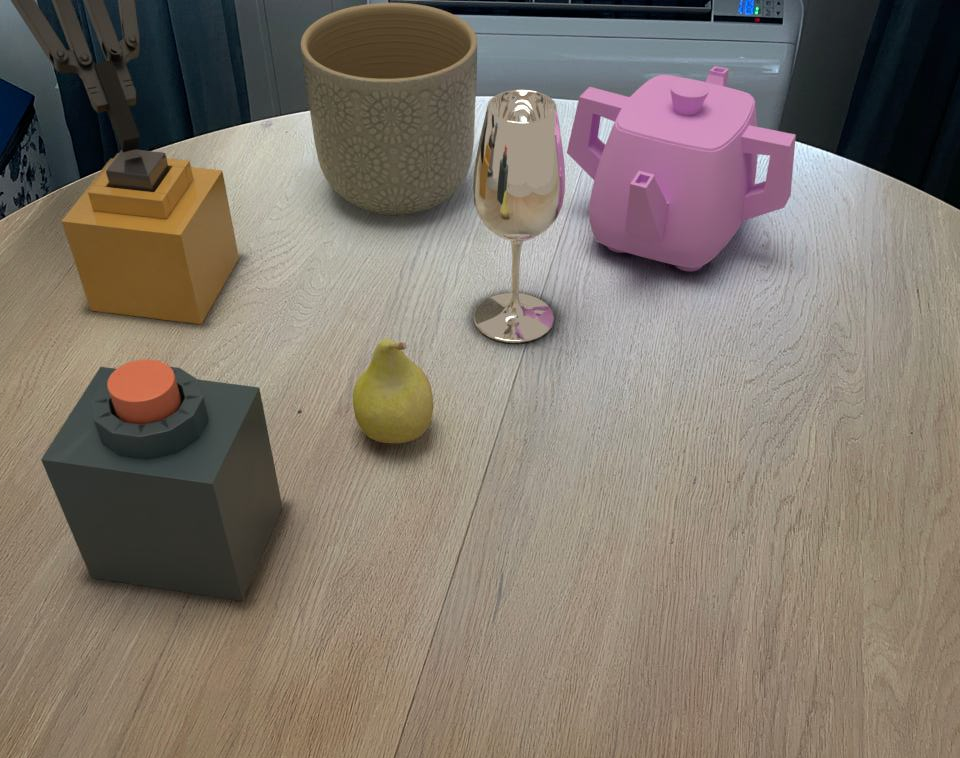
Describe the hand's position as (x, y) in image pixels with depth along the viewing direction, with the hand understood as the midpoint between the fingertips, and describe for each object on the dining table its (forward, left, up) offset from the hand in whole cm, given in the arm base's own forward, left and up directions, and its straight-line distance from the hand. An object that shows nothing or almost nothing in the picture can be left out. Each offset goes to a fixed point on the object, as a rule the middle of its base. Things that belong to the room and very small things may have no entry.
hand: (131, 144), depth 94 cm
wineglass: (+34, +1, -14) cm, 37 cm away
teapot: (+47, +18, -14) cm, 52 cm away
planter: (+18, +21, -14) cm, 31 cm away
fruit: (+27, -17, -14) cm, 35 cm away
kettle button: (0, 0, -3) cm, 3 cm away
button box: (+14, -32, -14) cm, 38 cm away
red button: (+14, -32, 0) cm, 35 cm away
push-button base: (0, 0, -14) cm, 14 cm away
